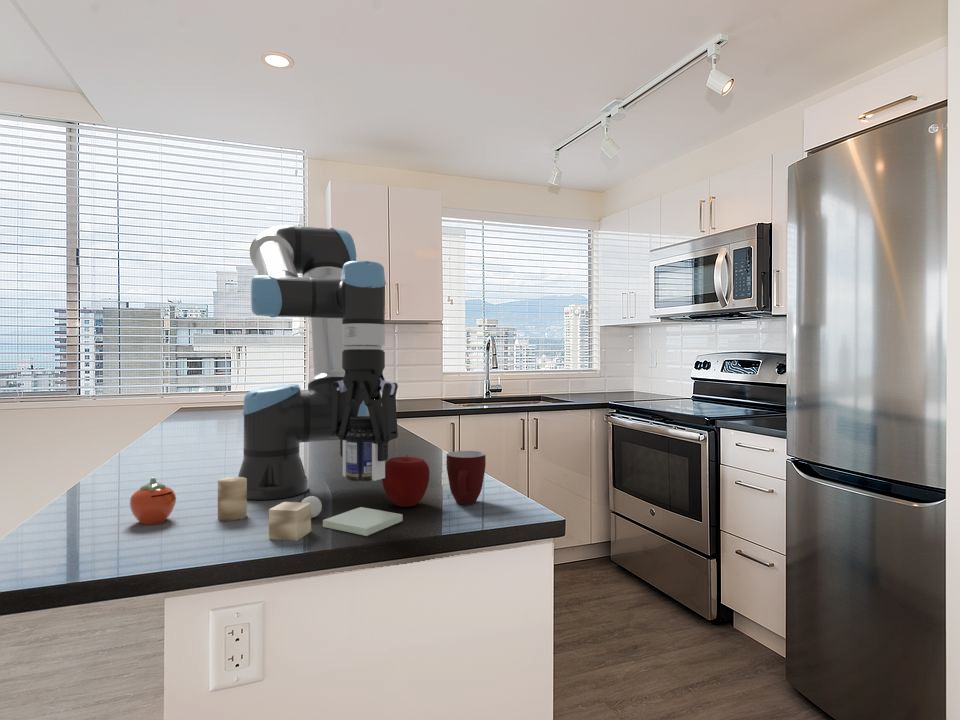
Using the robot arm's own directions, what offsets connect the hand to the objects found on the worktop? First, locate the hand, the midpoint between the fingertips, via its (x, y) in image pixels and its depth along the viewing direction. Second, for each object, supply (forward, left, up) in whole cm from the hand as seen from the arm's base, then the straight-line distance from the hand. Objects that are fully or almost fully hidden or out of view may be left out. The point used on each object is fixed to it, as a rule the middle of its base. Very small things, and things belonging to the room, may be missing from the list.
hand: (363, 476), depth 104 cm
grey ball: (-11, -2, -9) cm, 14 cm away
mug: (+9, +21, -9) cm, 25 cm away
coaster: (0, 0, -9) cm, 9 cm away
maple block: (-7, -11, -9) cm, 15 cm away
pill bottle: (0, 0, -1) cm, 1 cm away
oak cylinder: (-24, -9, -9) cm, 27 cm away
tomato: (-34, -18, -9) cm, 40 cm away
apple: (-1, +14, -9) cm, 17 cm away
